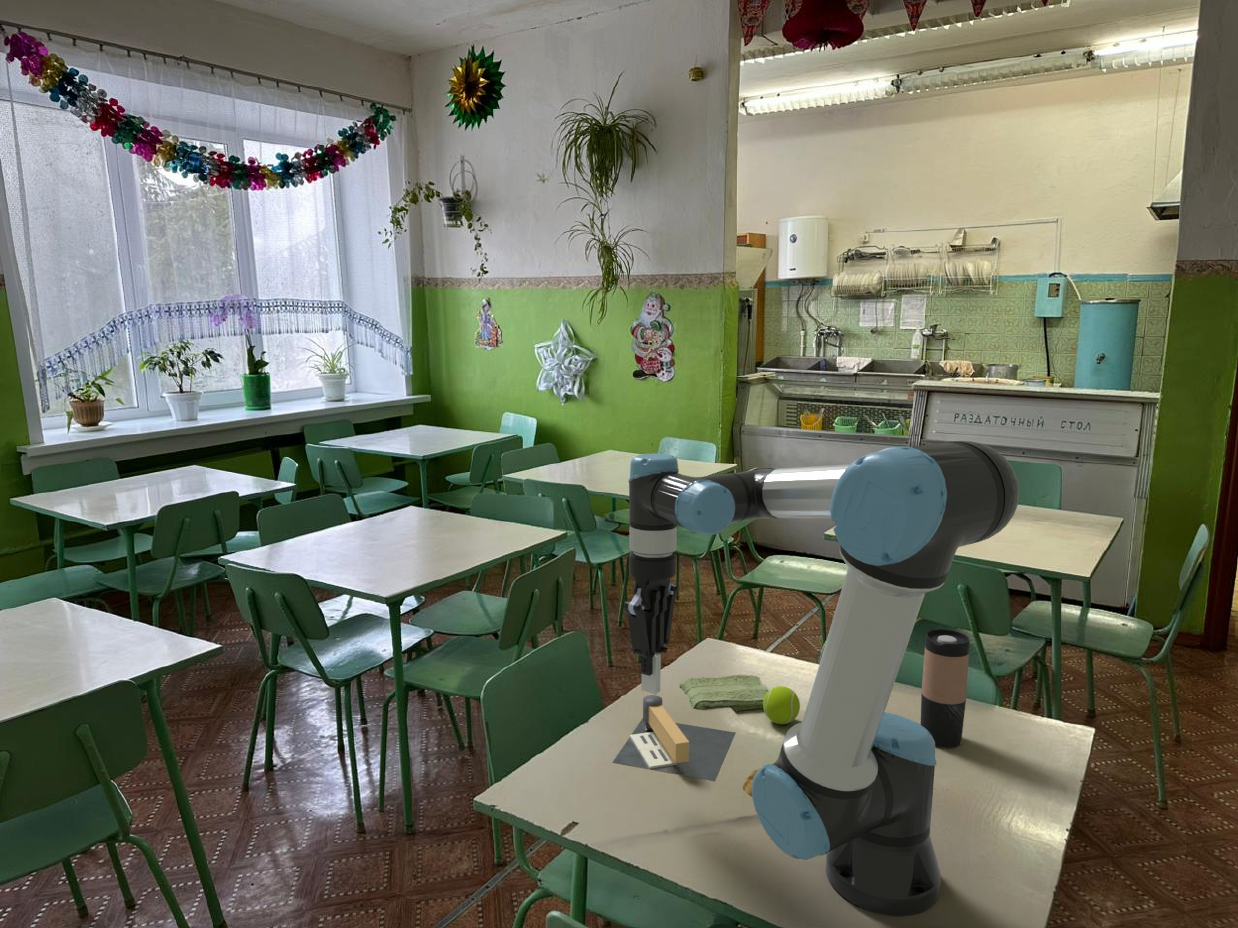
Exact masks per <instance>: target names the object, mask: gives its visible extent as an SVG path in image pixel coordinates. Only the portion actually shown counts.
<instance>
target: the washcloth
mask: <svg viewBox="0 0 1238 928" xmlns="http://www.w3.org/2000/svg"><path fill="white" fill-rule="evenodd" d="M679 688H680V689H681V690H682V691H683V692H684V694H685V695H687V697H688V699H689V704H690V707H691V708H692V709H697V710H705V709H711V708H714V709H716V708H725V707H729V708H730V709H731V710H732V711H733V712H737V711H736V710H741V711H747V710H748V709H749V710H756V709H763V700H764V697H765V695H766V693H767V692H768V691H769V690H768V689H767V688H768V687H767V686H766V685H765V684H764V683H763V682H762V680H761V677H760V676H757V675H752V674H750V675H747V674H741V673H740V674H734V675H733V674H732V675H726V676H725V675H723V676H720V675H719V676H717V677H716V676H715V677H703V676H702V677H696V678H695V677H692V678H688V679H685V680H682V681H681V682H680V683H679Z"/></svg>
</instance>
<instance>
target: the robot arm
mask: <svg viewBox="0 0 1238 928" xmlns="http://www.w3.org/2000/svg"><path fill="white" fill-rule="evenodd" d="M629 469H630V470H629V478H628V488H629V489H628V492H629V497H628V499H629V500H628V501H629V502H628V503H629V504H628V506H629V507H628V508H629V509H628V510H629V511H628V513H629V518H628V519H629V529H628V530H629V546H628V548H629V550H630V552H629V553H628V573H629V575H630V576H631V577H632V578H633V580H634V582H635V584H634V587H633V597H632V599H631V601H624V605H623V607H624V610H625V612H626V614H627V619H628V625H629V634H630V641H631V642H630V643H631V648H632V653H633V654H635V655H637V656H640V657H641V659H640V661H641V664H640V665H641V668H640V670H641V691H643V692H646V693H650V694H652V695H657V694H658V693H660V692H661V668H662V667H661V664H662V663H661V662H662V653H664V654H666V653H668V649H669V648H668V647H665V646H664V645H669V643H670V637H671V631H672V624H673V616H674V610H675V609H674V608H675V601H676V597H677V594H678V591H679V586H678V585H677V584H673V583H671V579H672V578H674V577H675V576H676V573H677V553H675V551H676V550H677V538H678V537H677V536H678V535H677V534H678V533H677V530H678V529H677V528H678V527H677V526H679V527H681V528H684V529H686V530H688V531H689V532H693V533H697V534H704V535H709V536H712V535H713V536H714V535H717V534H720V533H721V532H723V530H725V529H726V528H728V527H729V525H730V524H733V523H739V522H744V521H753V520H761V519H763V520H764V519H765V520H766V519H767V520H768V519H774V520H775V519H812V520H813V519H815V520H816V519H817V520H818V519H821V520H823V519H825V520H826V519H827V520H831V521H834V523H835V527H834V528H832V531H833V532H834V535H835V537H836V539H837V542H838V543H839V555H840V557H841V558H842V560H843V561H844V563H845V564H846V565H847V570H846V574H845V577H844V580H843V581H844V582H843V584H842V588H841V591H840V594H839V597H838V601H837V604H836V608H835V611H834V615H833V617H832V622H831V625H830V628H829V632H828V634H827V638H826V642H825V645H824V648H823V652H822V655H821V658H820V662H819V665H818V668H817V672H816V676H815V679H814V680H813V681H814V682H813V685H812V688H811V692H810V696H809V698H808V703H807V706H806V708H805V712H804V715H803V719H802V722H799V723H797V724H795V725H793V726H791V727H789V729H788V730H787V731H786V733H785V734H784V735H785V736H784V738H783V741H782V744H781V748H780V751H779V754H778V758H777V759H776V760H775V762H773V763H766V764H764V765H763V767H762V768H758V769H759V770H758V771H757V772H756V774H755V775H754V778H753V781H752V796H751V797H752V798H751V799H752V801H753V807H754V809H755V812H756V814H757V816H758V817H757V818H758V819H759V822H760V824H761V826H762V828H763V829H764V832H765V833H766V834H767V836H768V837H769V838H770V840H771V841H772V842H773V844H774V845H775V846H776V847H778V848H779V850H781V851H782V852H783V853H784V854H786V855H787V856H789V857H791V858H793V859H796V860H803V861H807V860H810V859H813V858H817V857H818V856H821V857H822V856H825V855H826V856H825V857H826V858H825V874H826V877H827V880H828V882H829V883H830V885H831V886H832V887H833V889H834V890H835V891H836V892H837V893H838V894H839V895H840V896H841V897H843V898H844V899H846V900H847V901H849V902H851V903H852V904H854V905H855V906H858V907H861V908H863V909H865V910H867V911H871V912H874V913H879V914H882V915H883V914H884V915H891V916H909V915H915V914H919V913H922V912H924V911H926V910H928V909H930V908H931V907H933V906H935V904H936V902H937V901H938V899H939V897H940V893H941V880H942V879H941V870H940V867H939V863H938V859H937V856H936V853H935V849H934V845H933V842H932V838H931V835H930V834H931V821H932V809H933V807H932V806H933V794H934V782H935V770H936V769H935V767H936V765H937V760H936V746H935V741H934V739H933V737H932V735H931V734H930V732H929V731H928V730H927V729H925V728H924V727H923V726H921V723H920V724H919V722H916V721H915V720H912V719H910V718H908V717H905V716H903V715H898V714H896V713H895V714H894V713H890V712H886V708H887V706H888V702H889V699H890V698H891V697H890V696H891V693H892V692H893V691H892V690H893V688H894V685H895V682H896V679H897V676H898V673H899V671H900V667H901V664H902V662H903V658H904V656H905V653H906V651H907V647H908V644H909V641H910V639H911V636H912V633H913V629H914V627H915V624H916V622H917V618H918V615H919V612H920V609H921V606H922V603H923V601H924V598H925V596H926V593H929V592H933V591H935V590H937V589H939V588H941V587H943V585H944V584H945V583H946V581H947V577H948V574H949V571H950V570H951V567H952V563H953V561H954V558H955V556H956V552H957V550H958V548H960V547H964V546H968V545H972V544H976V543H981V542H983V541H986V540H988V539H990V538H992V537H993V536H996V535H998V534H999V533H1000V532H1001V531H1002V530H1003V529H1005V528H1006V526H1007V525H1008V524H1009V523H1010V521H1011V520H1012V518H1013V517H1014V515H1015V513H1016V511H1017V508H1018V505H1019V500H1020V485H1019V481H1018V476H1017V474H1016V472H1015V469H1014V468H1013V466H1012V465H1011V464H1010V462H1009V461H1008V459H1007V458H1006V457H1005V456H1004V455H1003V454H1001V453H1000V452H999V451H998V450H995V449H994V448H993V447H991V446H989V445H986V444H984V443H980V442H977V441H972V440H971V441H968V440H956V441H955V440H954V441H948V442H940V443H932V444H926V445H918V446H907V445H906V446H904V445H903V446H891V447H887V448H883V449H882V450H879V451H875V452H871V453H870V452H869V453H867V454H865V455H863V456H861V457H859V458H858V459H855V460H854V461H853V462H852V463H843V464H842V463H841V464H831V465H830V464H829V465H815V466H811V465H810V466H801V467H799V466H798V467H795V466H794V467H785V468H782V467H766V468H759V469H753V470H747V471H746V470H745V471H740V472H730V473H721V474H713V475H712V474H711V475H707V476H706V475H704V476H690V475H685V474H682V473H679V472H680V471H679V463H678V459H677V458H676V457H675V456H674V455H671V454H666V453H643V454H638V455H635V456H634V457H632V458H631V460H630V467H629Z"/></svg>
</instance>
